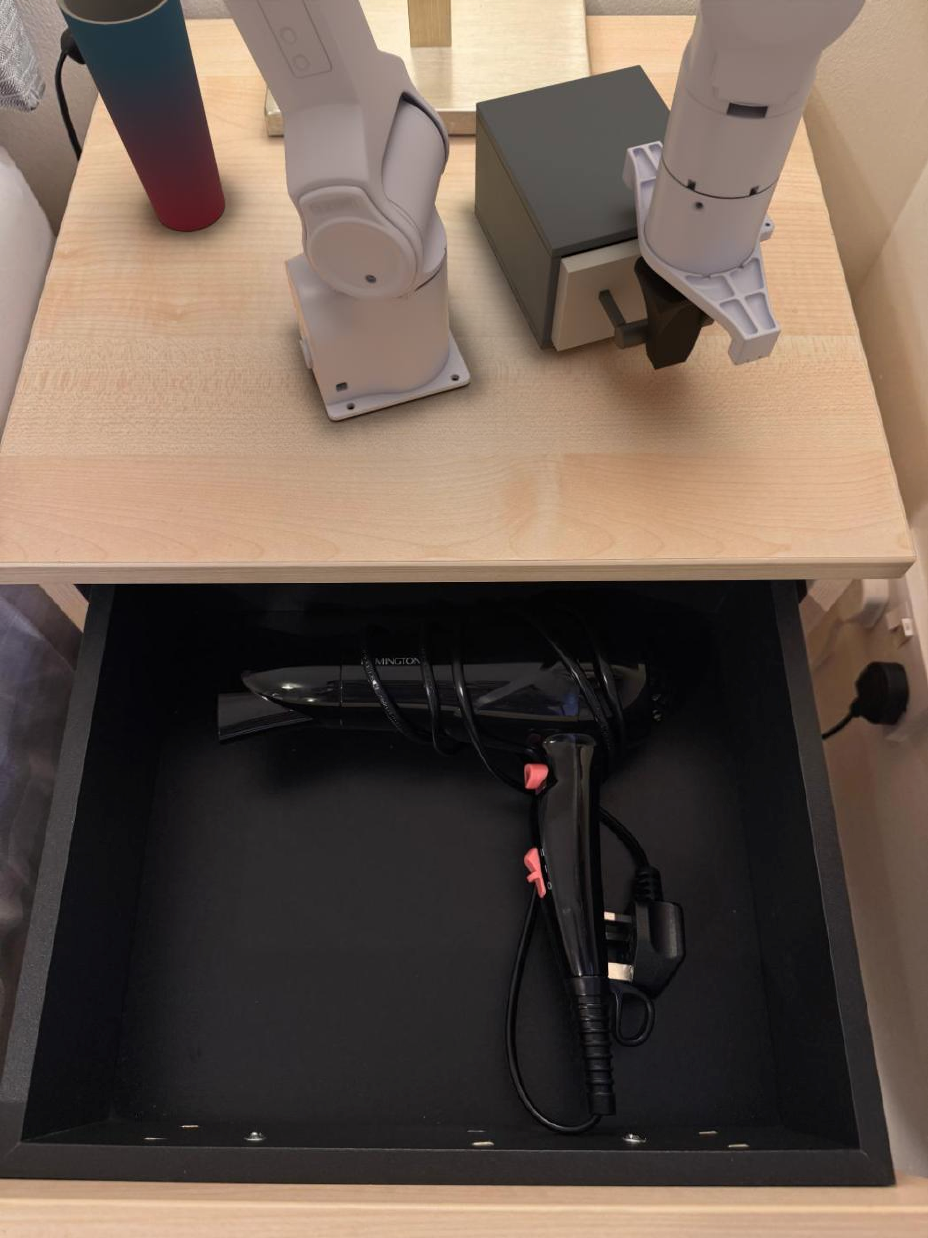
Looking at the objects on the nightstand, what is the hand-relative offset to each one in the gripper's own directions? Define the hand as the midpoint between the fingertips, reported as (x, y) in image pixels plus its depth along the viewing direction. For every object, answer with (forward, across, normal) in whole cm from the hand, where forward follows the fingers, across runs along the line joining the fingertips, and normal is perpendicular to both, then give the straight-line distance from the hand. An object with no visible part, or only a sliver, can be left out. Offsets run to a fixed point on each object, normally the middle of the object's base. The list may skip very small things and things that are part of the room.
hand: (664, 356), depth 54 cm
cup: (+3, +26, +25) cm, 36 cm away
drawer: (+2, +8, 0) cm, 9 cm away
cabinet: (+3, +12, 0) cm, 13 cm away
